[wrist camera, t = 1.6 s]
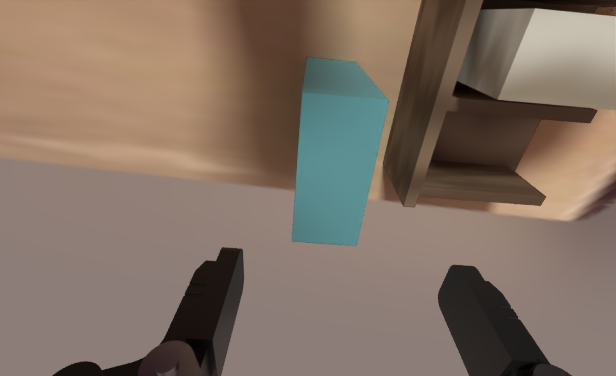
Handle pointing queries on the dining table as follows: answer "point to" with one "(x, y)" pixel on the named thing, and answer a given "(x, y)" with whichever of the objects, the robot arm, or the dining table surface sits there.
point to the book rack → (494, 92)
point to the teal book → (336, 151)
